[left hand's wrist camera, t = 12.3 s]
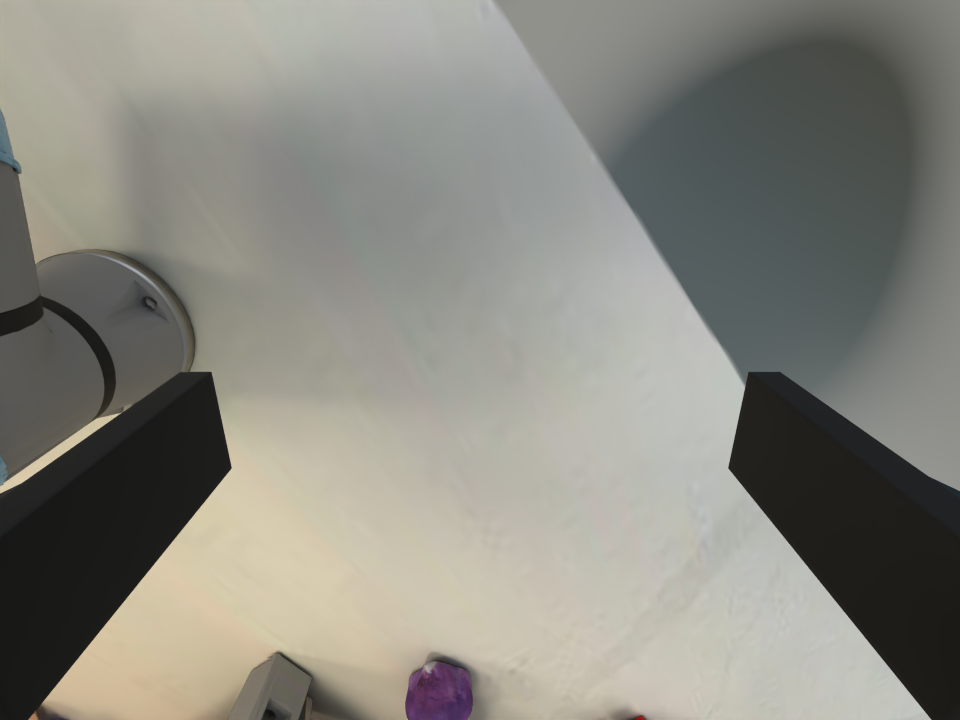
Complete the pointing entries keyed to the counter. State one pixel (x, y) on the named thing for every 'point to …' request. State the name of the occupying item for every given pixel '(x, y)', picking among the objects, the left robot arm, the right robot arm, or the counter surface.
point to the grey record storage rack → (274, 693)
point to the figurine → (439, 693)
